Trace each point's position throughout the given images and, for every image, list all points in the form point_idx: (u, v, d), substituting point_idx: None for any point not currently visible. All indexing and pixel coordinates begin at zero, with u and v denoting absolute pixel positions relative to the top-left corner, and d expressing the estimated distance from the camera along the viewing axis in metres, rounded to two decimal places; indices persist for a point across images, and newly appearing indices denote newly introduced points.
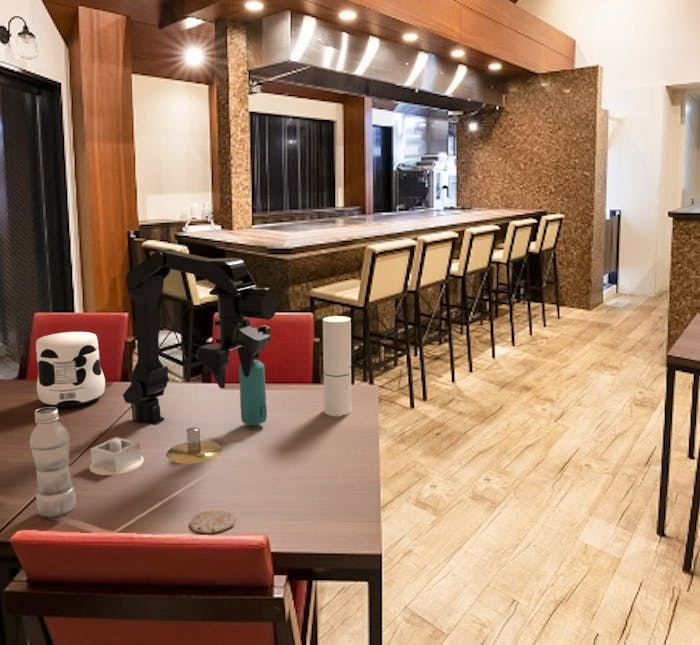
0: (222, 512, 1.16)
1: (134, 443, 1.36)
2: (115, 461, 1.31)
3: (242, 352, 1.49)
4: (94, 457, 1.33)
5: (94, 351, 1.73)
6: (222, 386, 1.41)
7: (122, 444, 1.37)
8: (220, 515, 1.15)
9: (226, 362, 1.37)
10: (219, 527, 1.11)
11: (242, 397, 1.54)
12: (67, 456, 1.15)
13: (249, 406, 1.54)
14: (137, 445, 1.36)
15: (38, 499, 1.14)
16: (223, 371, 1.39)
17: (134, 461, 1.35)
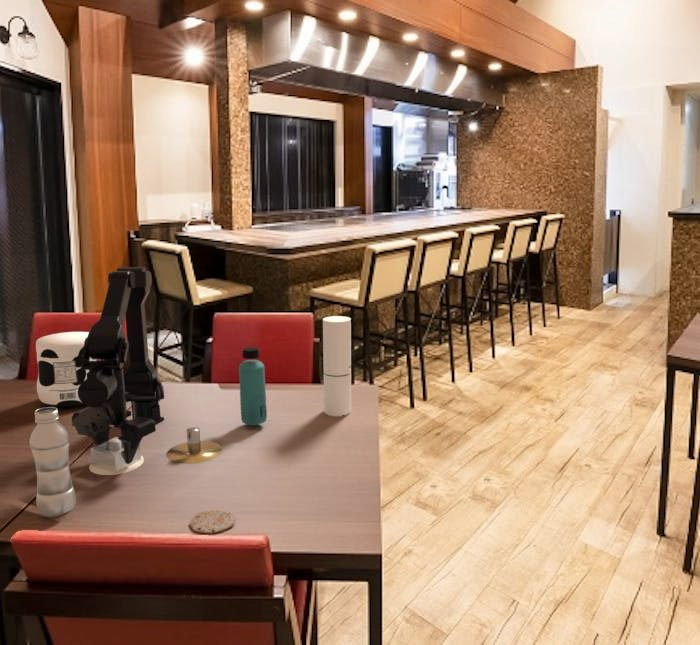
0: (222, 512, 1.16)
1: None
2: (115, 461, 1.31)
3: None
4: (94, 457, 1.33)
5: None
6: None
7: (122, 444, 1.37)
8: (220, 515, 1.15)
9: None
10: (219, 527, 1.11)
11: (242, 397, 1.54)
12: (67, 456, 1.15)
13: (249, 406, 1.54)
14: None
15: (38, 499, 1.14)
16: (95, 440, 1.35)
17: (134, 461, 1.35)
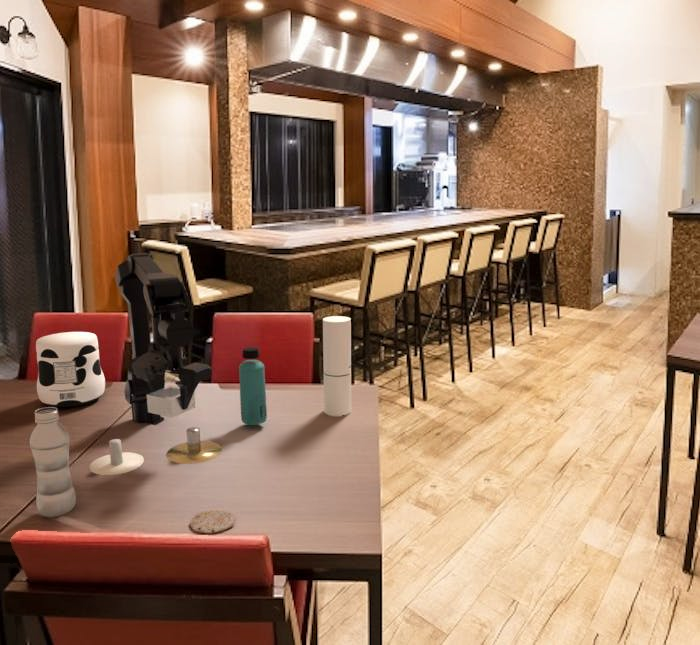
0: (222, 512, 1.16)
1: None
2: (171, 406, 1.32)
3: None
4: (150, 402, 1.35)
5: (94, 351, 1.73)
6: None
7: (177, 392, 1.39)
8: (220, 515, 1.15)
9: None
10: (218, 527, 1.11)
11: (242, 397, 1.54)
12: (67, 456, 1.15)
13: (249, 406, 1.54)
14: None
15: (38, 499, 1.14)
16: (151, 386, 1.37)
17: (189, 408, 1.37)
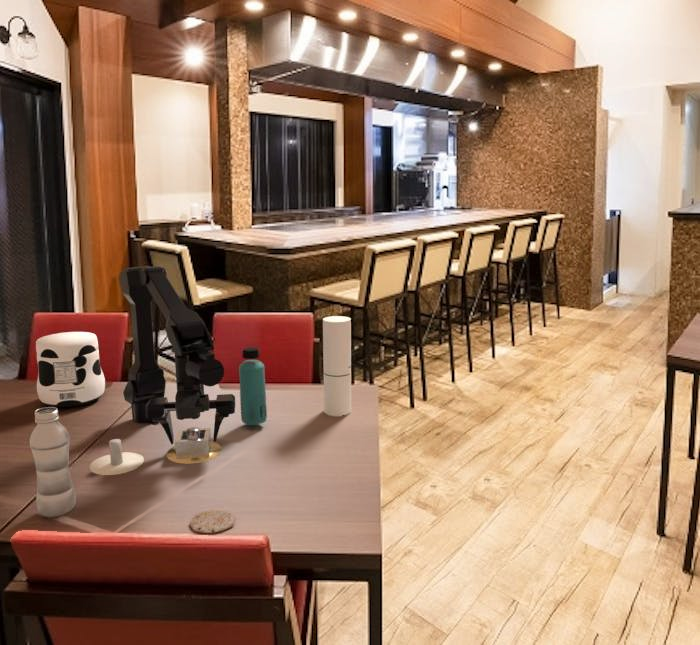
0: (222, 512, 1.16)
1: (207, 429, 1.43)
2: (208, 446, 1.38)
3: None
4: (180, 449, 1.37)
5: (94, 351, 1.73)
6: None
7: None
8: (220, 515, 1.15)
9: (160, 420, 1.36)
10: (218, 527, 1.11)
11: (242, 397, 1.54)
12: (67, 456, 1.15)
13: (249, 406, 1.54)
14: (210, 430, 1.44)
15: (38, 499, 1.14)
16: (167, 428, 1.38)
17: (210, 445, 1.43)
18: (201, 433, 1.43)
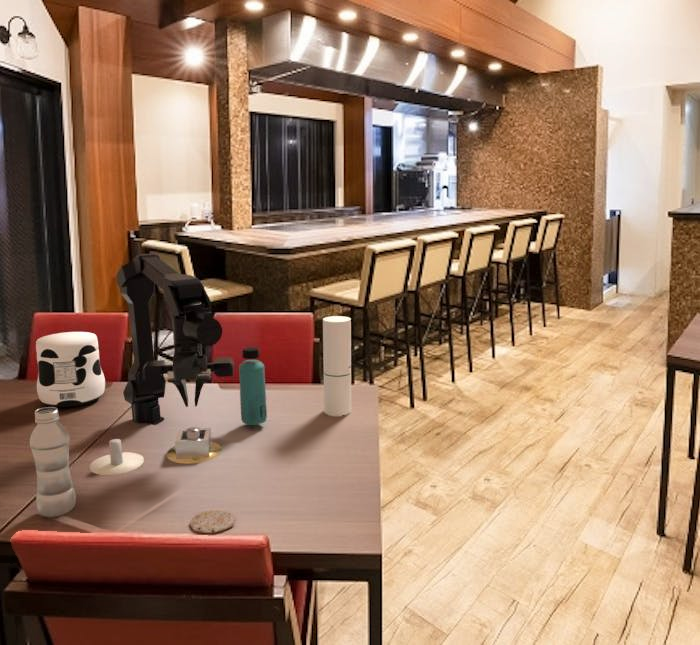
0: (222, 512, 1.16)
1: (207, 429, 1.43)
2: (208, 446, 1.38)
3: None
4: (180, 449, 1.37)
5: (94, 351, 1.73)
6: (185, 404, 1.38)
7: None
8: (220, 515, 1.15)
9: (175, 381, 1.34)
10: (218, 527, 1.11)
11: (242, 397, 1.54)
12: (67, 456, 1.15)
13: (249, 406, 1.54)
14: (210, 430, 1.44)
15: (38, 499, 1.14)
16: (181, 390, 1.37)
17: (210, 445, 1.43)
18: (201, 433, 1.43)
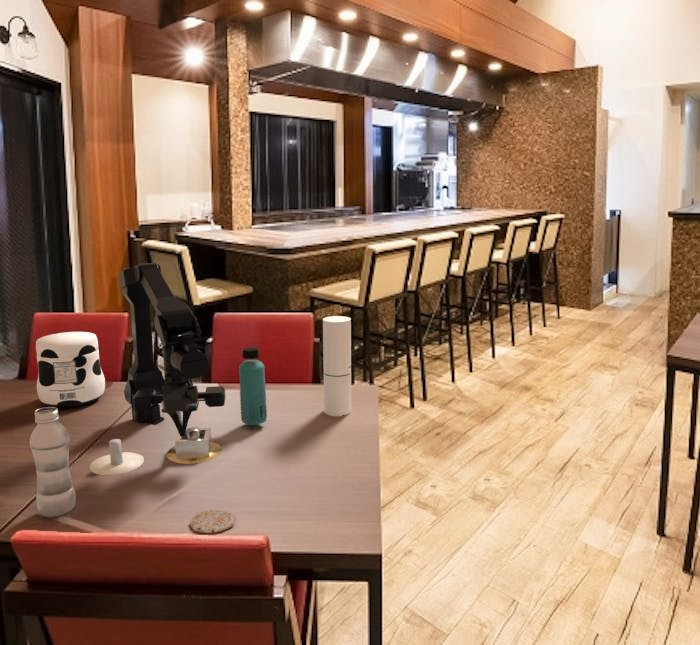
0: (222, 512, 1.16)
1: (207, 429, 1.43)
2: (208, 446, 1.38)
3: None
4: (180, 449, 1.37)
5: (94, 351, 1.73)
6: None
7: None
8: (220, 515, 1.15)
9: (169, 411, 1.33)
10: (218, 528, 1.11)
11: (242, 397, 1.54)
12: (67, 456, 1.15)
13: (249, 406, 1.54)
14: (210, 430, 1.44)
15: (38, 499, 1.14)
16: (176, 420, 1.35)
17: (210, 445, 1.43)
18: (201, 433, 1.43)
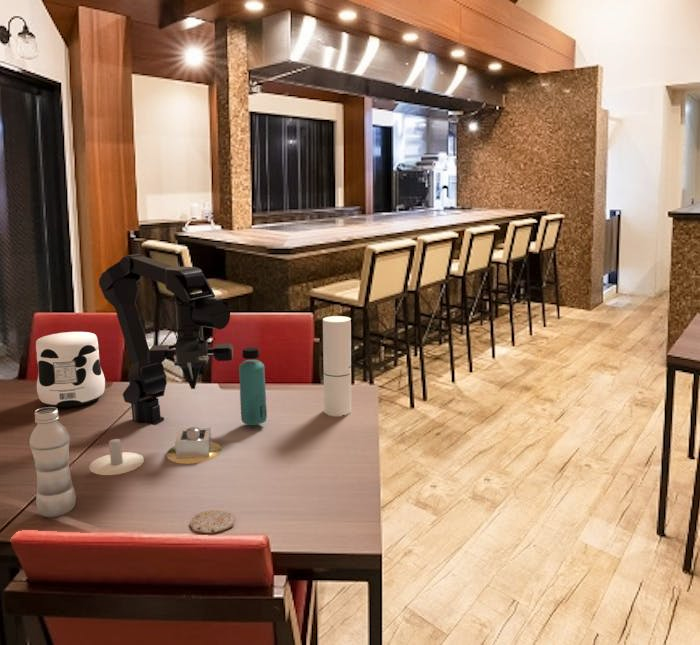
0: (222, 512, 1.16)
1: (207, 429, 1.43)
2: (208, 446, 1.38)
3: None
4: (180, 449, 1.37)
5: (94, 351, 1.73)
6: (190, 386, 1.48)
7: None
8: (220, 515, 1.15)
9: (181, 364, 1.43)
10: (218, 527, 1.11)
11: (242, 397, 1.54)
12: (67, 456, 1.15)
13: (249, 406, 1.54)
14: (210, 430, 1.44)
15: (38, 499, 1.14)
16: (187, 373, 1.46)
17: (210, 445, 1.43)
18: (201, 433, 1.43)
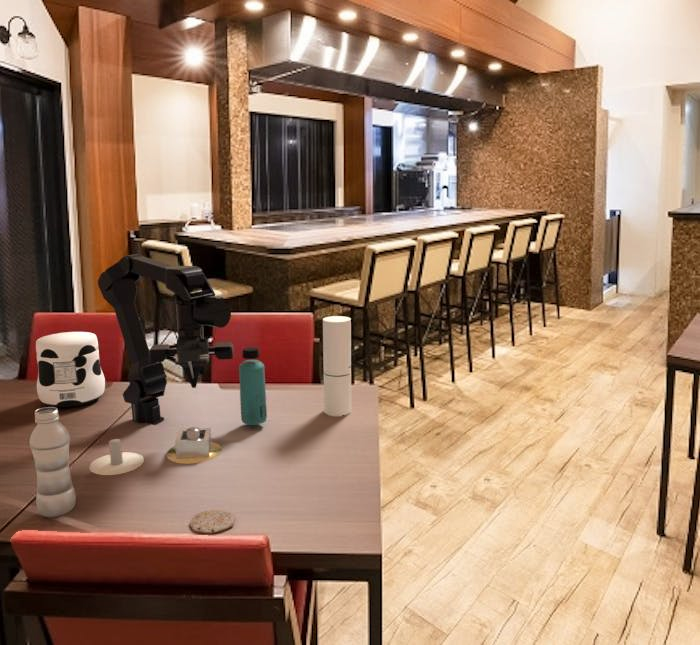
0: (222, 512, 1.16)
1: (207, 429, 1.43)
2: (208, 446, 1.38)
3: None
4: (180, 449, 1.37)
5: (94, 351, 1.73)
6: (191, 385, 1.48)
7: None
8: (220, 515, 1.15)
9: (182, 363, 1.44)
10: (218, 527, 1.11)
11: (242, 397, 1.54)
12: (67, 456, 1.15)
13: (249, 406, 1.54)
14: (210, 430, 1.44)
15: (38, 499, 1.14)
16: (188, 372, 1.46)
17: (210, 445, 1.43)
18: (201, 433, 1.43)
